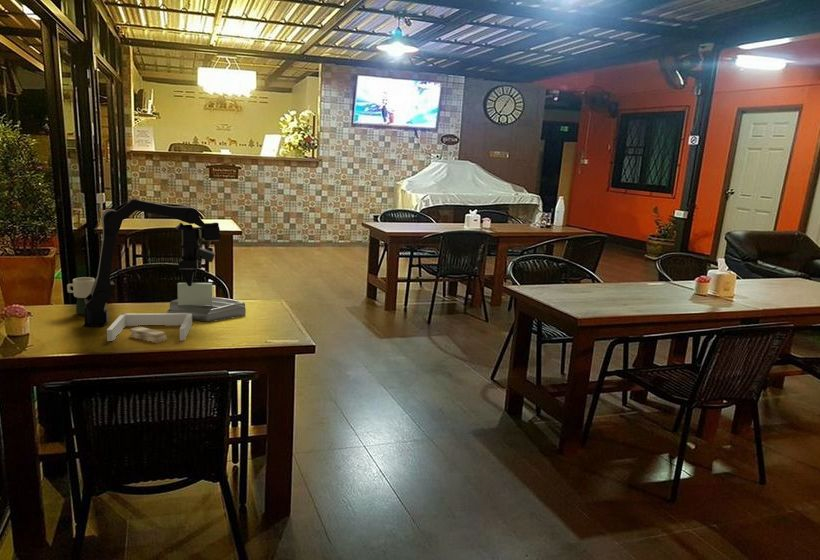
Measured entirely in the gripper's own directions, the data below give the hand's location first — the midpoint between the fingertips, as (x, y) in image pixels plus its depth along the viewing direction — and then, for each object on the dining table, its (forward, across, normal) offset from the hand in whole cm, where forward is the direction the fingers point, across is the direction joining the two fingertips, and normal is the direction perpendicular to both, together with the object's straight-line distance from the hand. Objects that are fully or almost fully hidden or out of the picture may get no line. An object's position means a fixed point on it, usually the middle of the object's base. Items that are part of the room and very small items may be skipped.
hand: (191, 283), depth 216 cm
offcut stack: (+13, -28, +10) cm, 32 cm away
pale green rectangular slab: (+8, +1, -1) cm, 8 cm away
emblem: (+13, +5, -5) cm, 15 cm away
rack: (+12, -21, +10) cm, 26 cm away
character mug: (+12, +4, +37) cm, 39 cm away
